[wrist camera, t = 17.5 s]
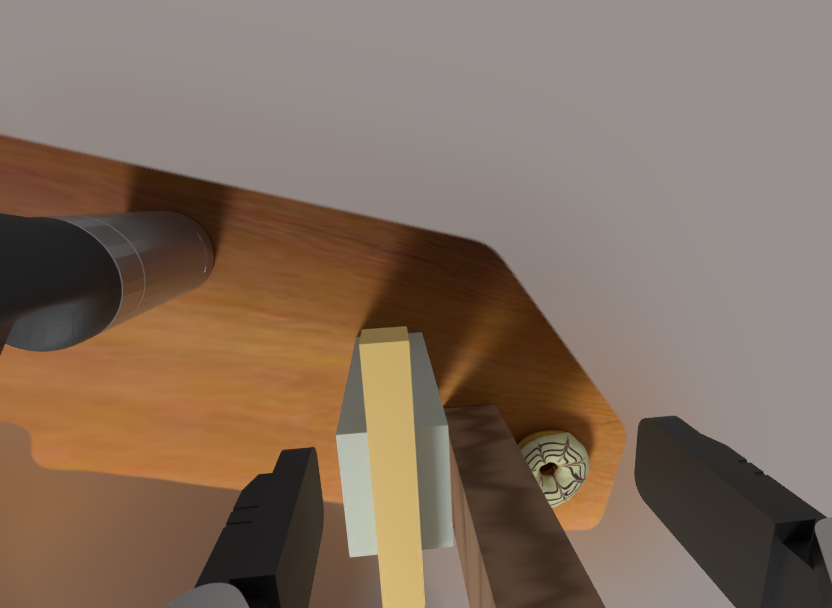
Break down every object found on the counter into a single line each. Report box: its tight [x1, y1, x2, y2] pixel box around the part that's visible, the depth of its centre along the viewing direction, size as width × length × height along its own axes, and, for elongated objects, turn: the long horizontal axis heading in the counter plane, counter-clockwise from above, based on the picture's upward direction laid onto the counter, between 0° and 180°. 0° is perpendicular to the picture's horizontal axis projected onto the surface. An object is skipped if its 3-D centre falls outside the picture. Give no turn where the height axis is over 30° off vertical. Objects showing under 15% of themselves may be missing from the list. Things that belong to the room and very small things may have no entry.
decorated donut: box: [517, 430, 589, 507], centre depth 56 cm, size 10×11×4 cm
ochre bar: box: [359, 326, 425, 608], centre depth 29 cm, size 3×20×3 cm, turn 3°
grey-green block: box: [336, 332, 453, 557], centre depth 42 cm, size 8×10×22 cm
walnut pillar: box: [443, 404, 605, 608], centre depth 39 cm, size 7×12×34 cm, turn 3°
